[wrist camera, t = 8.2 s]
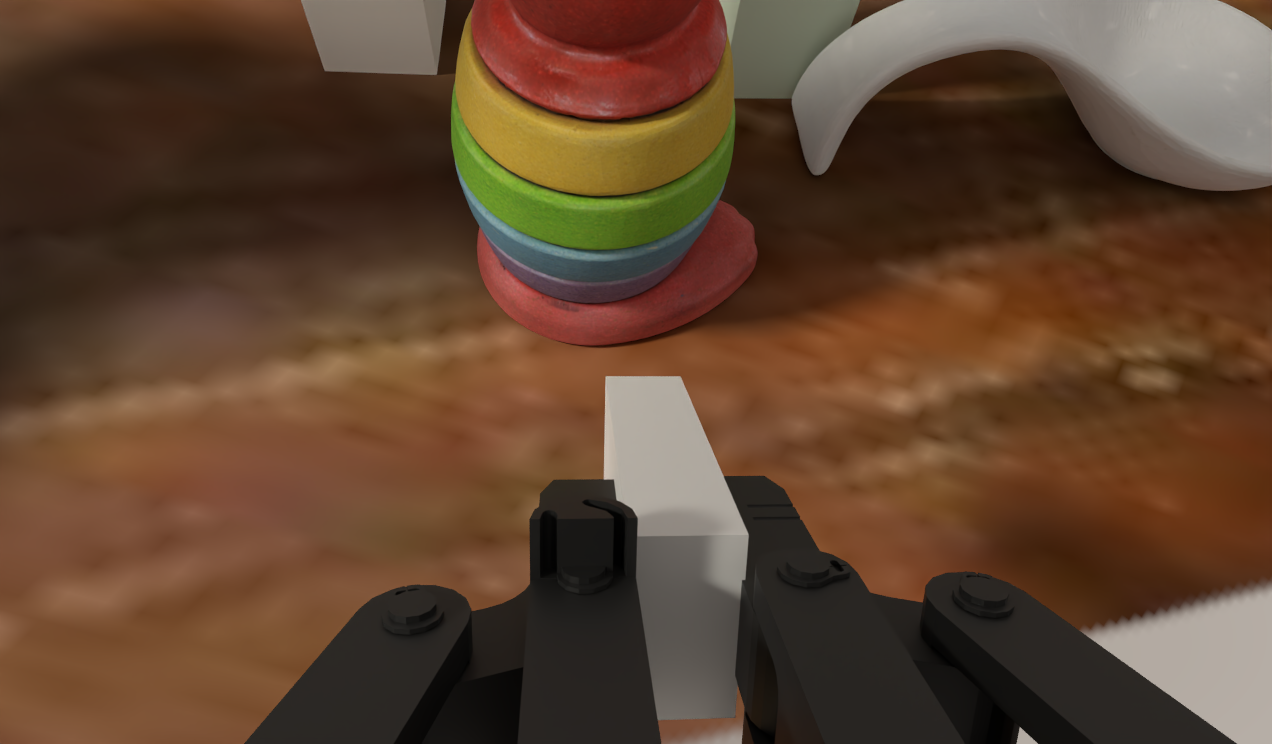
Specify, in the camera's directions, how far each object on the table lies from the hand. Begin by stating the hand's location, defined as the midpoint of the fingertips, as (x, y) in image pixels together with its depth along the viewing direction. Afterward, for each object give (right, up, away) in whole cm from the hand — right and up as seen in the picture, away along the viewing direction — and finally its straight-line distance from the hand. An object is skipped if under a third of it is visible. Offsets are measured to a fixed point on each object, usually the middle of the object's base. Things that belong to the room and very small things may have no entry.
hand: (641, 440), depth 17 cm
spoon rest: (+19, +12, +22) cm, 32 cm away
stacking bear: (-2, +6, +17) cm, 18 cm away
